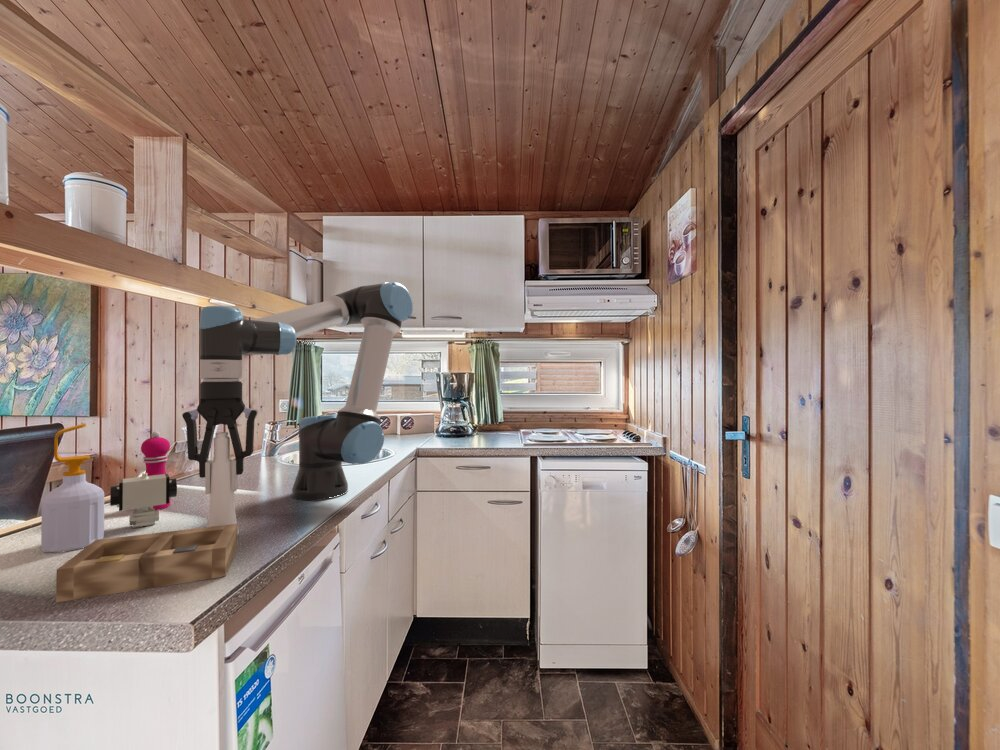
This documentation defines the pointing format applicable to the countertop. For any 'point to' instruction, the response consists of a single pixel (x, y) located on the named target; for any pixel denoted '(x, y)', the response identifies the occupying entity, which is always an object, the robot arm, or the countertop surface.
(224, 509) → the cosmetic bottle
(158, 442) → the pepper mill
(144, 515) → the pneumatic valve
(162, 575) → the wooden compartment tray
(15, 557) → the countertop surface
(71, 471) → the soap bottle
